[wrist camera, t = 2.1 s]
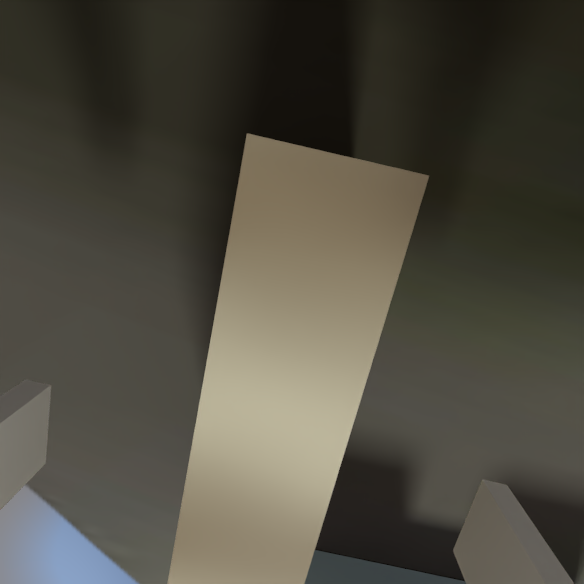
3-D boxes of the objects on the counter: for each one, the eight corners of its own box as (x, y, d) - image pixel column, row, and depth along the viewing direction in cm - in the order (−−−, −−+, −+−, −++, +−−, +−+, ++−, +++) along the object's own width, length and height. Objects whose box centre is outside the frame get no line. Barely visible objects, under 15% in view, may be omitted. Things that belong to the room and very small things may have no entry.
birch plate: (285, 165, 17) (247, 133, 6) (352, 180, 17) (429, 175, 6) (219, 482, 21) (133, 775, 11) (272, 493, 21) (239, 796, 11)
